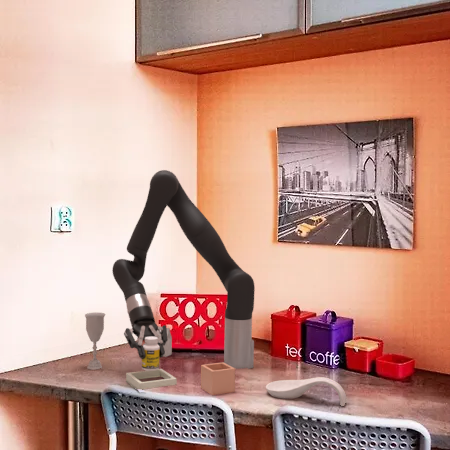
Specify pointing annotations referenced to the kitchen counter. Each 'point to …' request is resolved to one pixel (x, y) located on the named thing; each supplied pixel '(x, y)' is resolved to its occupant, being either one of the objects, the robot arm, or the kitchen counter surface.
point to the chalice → (94, 334)
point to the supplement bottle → (151, 354)
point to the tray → (134, 376)
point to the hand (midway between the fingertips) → (153, 356)
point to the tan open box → (217, 378)
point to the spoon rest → (302, 388)
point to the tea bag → (167, 343)
